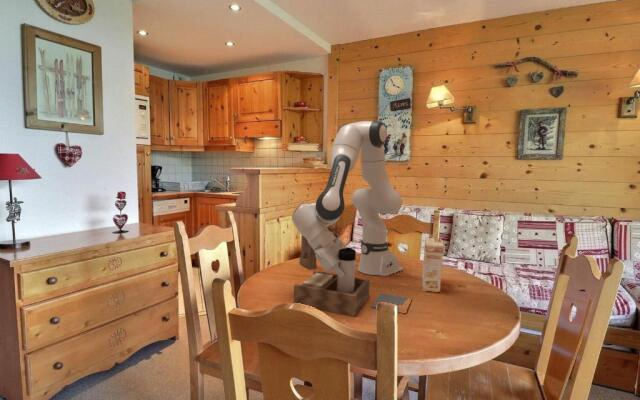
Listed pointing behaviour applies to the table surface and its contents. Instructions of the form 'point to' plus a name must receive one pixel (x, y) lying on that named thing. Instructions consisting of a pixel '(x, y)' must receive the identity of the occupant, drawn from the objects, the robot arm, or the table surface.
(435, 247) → the coffeecake box
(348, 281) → the travel mug
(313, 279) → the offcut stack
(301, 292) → the walnut rack
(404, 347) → the table surface
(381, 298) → the rubber mat
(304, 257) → the brown wooden handled piece
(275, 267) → the table surface
